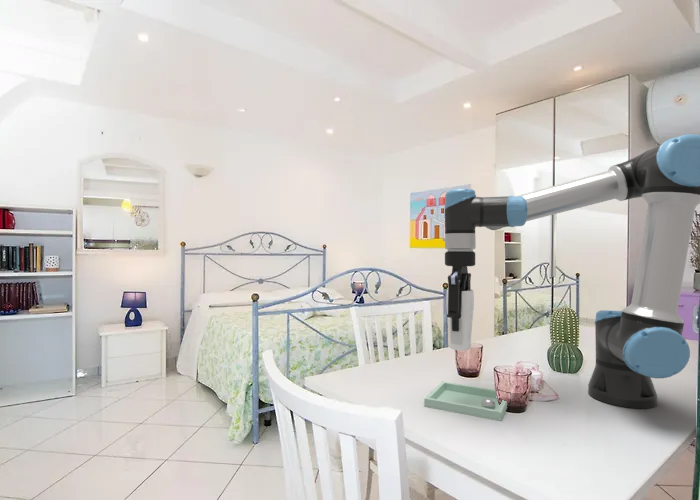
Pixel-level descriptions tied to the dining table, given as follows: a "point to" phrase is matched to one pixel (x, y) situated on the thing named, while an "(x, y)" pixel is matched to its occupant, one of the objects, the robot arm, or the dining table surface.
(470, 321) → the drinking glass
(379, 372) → the dining table surface
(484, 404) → the shiny metal ball
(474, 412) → the tray
